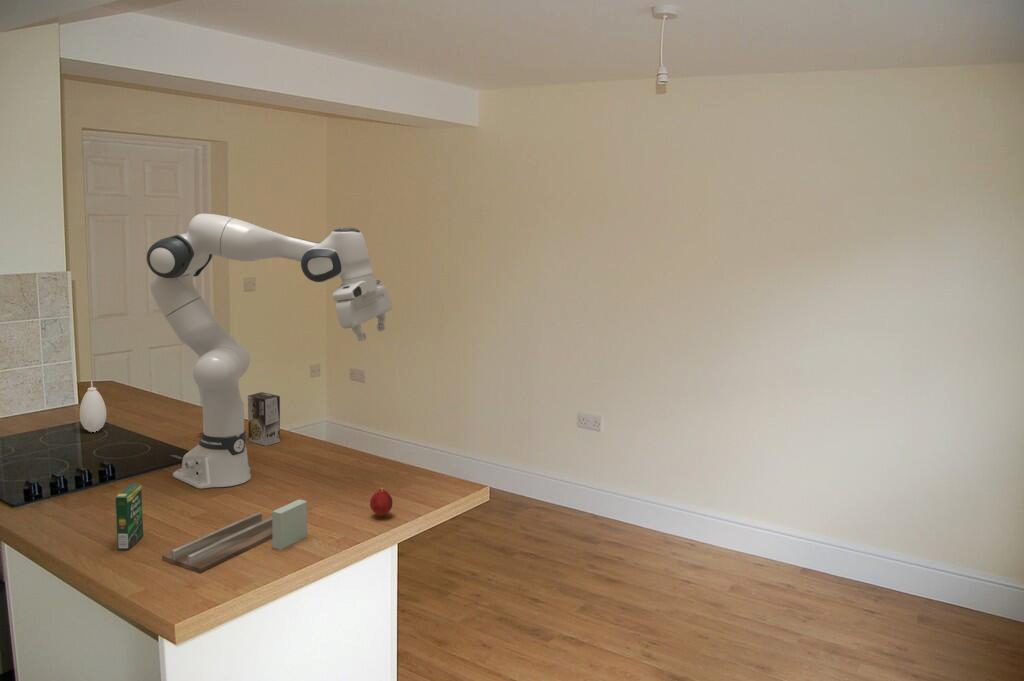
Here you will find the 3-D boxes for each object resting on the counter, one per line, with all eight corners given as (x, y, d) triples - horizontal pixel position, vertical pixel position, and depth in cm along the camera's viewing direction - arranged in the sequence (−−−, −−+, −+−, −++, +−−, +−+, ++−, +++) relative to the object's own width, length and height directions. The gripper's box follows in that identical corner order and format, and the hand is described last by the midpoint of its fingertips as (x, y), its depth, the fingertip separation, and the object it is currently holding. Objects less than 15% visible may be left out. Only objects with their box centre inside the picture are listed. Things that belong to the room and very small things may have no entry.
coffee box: (281, 442, 257) (280, 395, 254) (265, 446, 251) (265, 399, 249) (263, 437, 261) (262, 391, 259) (247, 441, 256) (247, 394, 253)
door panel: (272, 547, 177) (272, 511, 176) (299, 534, 185) (299, 499, 184) (280, 550, 176) (280, 513, 175) (307, 536, 184) (307, 501, 183)
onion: (371, 512, 201) (371, 483, 199) (393, 512, 201) (393, 483, 200) (368, 520, 195) (369, 491, 194) (391, 521, 196) (392, 491, 194)
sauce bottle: (98, 435, 255) (96, 383, 252) (75, 434, 255) (73, 382, 252) (111, 429, 262) (109, 378, 259) (89, 428, 262) (86, 377, 259)
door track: (162, 560, 169) (161, 547, 168) (249, 520, 192) (249, 509, 191) (200, 573, 163) (200, 560, 163) (286, 531, 186) (286, 519, 186)
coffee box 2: (129, 551, 172) (127, 496, 170) (116, 551, 172) (114, 496, 170) (144, 536, 180) (142, 483, 178) (132, 536, 180) (130, 483, 178)
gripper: (372, 279, 216) (384, 325, 219) (328, 296, 198) (341, 346, 201) (390, 276, 213) (402, 324, 216) (347, 294, 195) (360, 345, 198)
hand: (372, 335), depth 208 cm, fingers open, 8 cm apart
